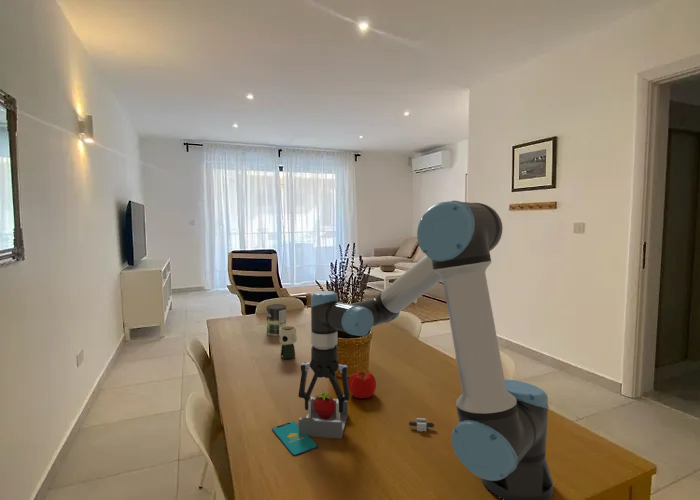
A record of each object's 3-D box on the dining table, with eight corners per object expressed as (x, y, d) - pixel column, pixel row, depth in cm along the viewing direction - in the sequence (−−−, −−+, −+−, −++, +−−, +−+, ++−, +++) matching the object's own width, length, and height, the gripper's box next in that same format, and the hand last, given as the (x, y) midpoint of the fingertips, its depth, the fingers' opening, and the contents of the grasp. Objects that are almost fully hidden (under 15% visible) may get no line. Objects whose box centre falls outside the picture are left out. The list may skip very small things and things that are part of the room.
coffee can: (269, 336, 195) (268, 309, 194) (264, 331, 204) (264, 305, 203) (289, 334, 199) (288, 307, 198) (283, 329, 209) (283, 303, 208)
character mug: (273, 356, 167) (273, 327, 166) (286, 352, 173) (286, 324, 171) (289, 363, 160) (289, 332, 159) (302, 358, 165) (302, 328, 164)
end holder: (341, 438, 105) (341, 422, 105) (298, 435, 107) (298, 419, 106) (347, 414, 119) (348, 399, 118) (309, 411, 120) (309, 397, 120)
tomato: (377, 391, 134) (378, 370, 134) (372, 403, 126) (372, 380, 125) (351, 388, 137) (352, 367, 136) (344, 399, 128) (344, 377, 128)
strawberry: (322, 431, 108) (322, 396, 107) (309, 419, 114) (309, 387, 113) (340, 424, 111) (340, 391, 110) (326, 413, 117) (326, 382, 117)
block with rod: (434, 432, 109) (434, 424, 108) (408, 430, 110) (408, 423, 109) (433, 426, 112) (433, 419, 112) (408, 424, 113) (408, 417, 113)
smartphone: (293, 455, 97) (271, 427, 110) (293, 458, 97) (271, 430, 110) (318, 446, 101) (294, 420, 114) (318, 449, 101) (294, 423, 114)
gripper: (360, 342, 113) (360, 417, 115) (293, 339, 116) (293, 412, 118) (358, 351, 106) (357, 430, 108) (286, 347, 108) (286, 425, 110)
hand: (324, 421), depth 113 cm, fingers open, 7 cm apart
